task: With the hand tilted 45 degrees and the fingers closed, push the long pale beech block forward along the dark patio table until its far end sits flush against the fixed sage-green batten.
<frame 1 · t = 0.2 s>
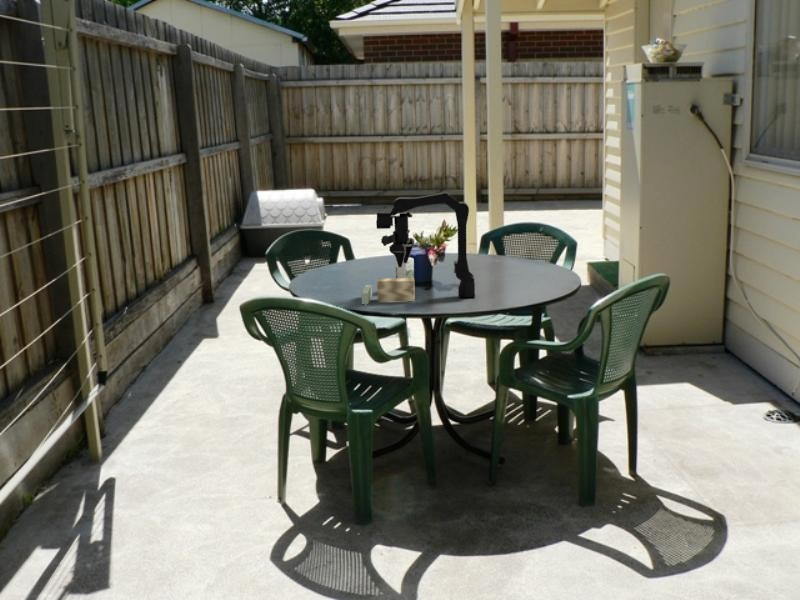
hand: (402, 265, 363), 14 cm above the table, tool pointing down, fingers open, 9 cm apart
syrup box: (405, 291, 380), on the table
beech block: (396, 300, 361), on the table
sage batten: (367, 300, 362), on the table
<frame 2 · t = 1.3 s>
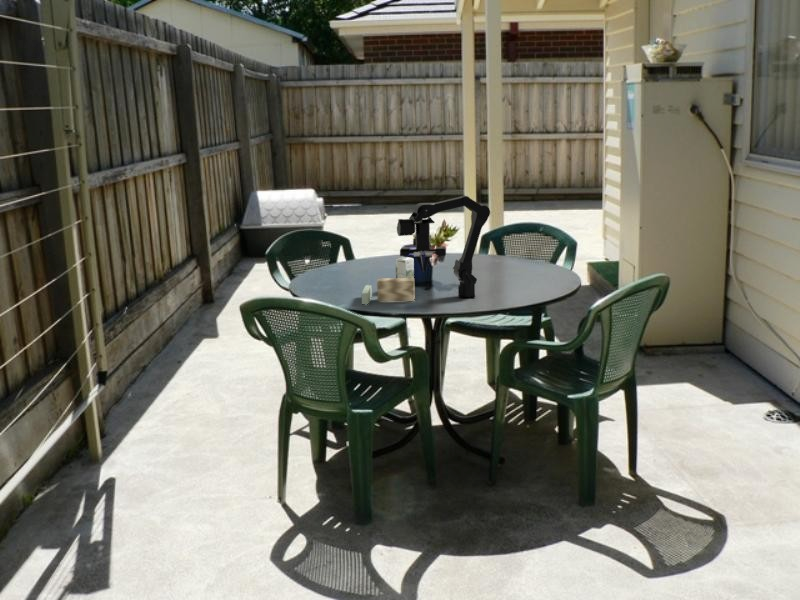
hand: (423, 271, 358), 12 cm above the table, tool pointing down, fingers closed
nothing on the table moved.
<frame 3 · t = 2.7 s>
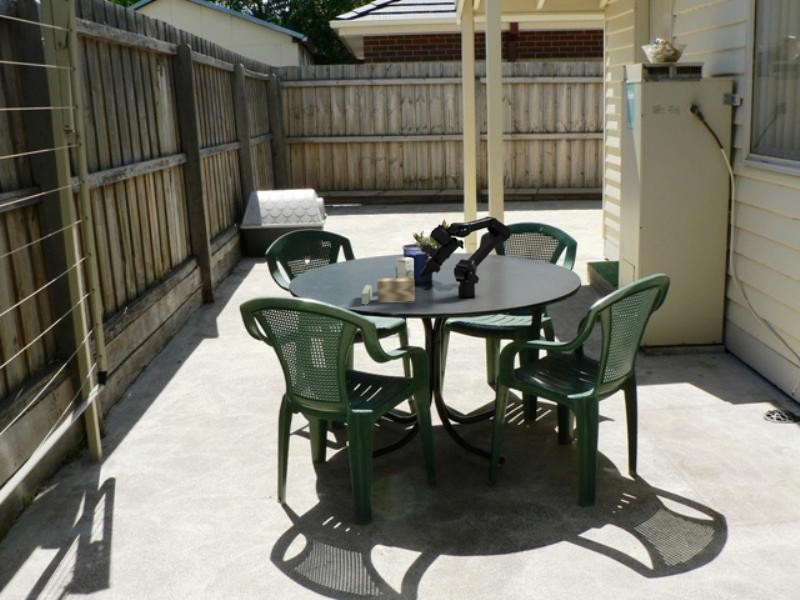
hand: (420, 276, 358), 10 cm above the table, tool tilted 45°, fingers closed
nothing on the table moved.
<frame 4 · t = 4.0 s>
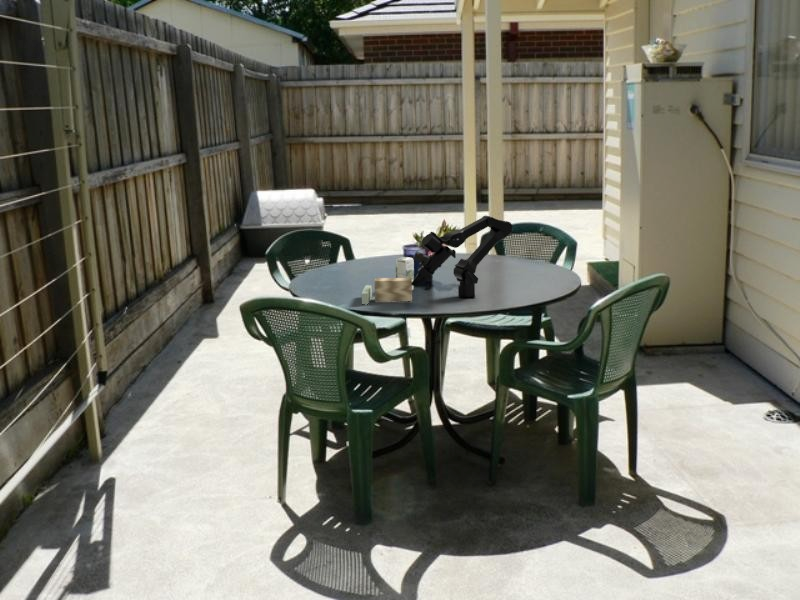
hand: (412, 284, 359), 7 cm above the table, tool tilted 45°, fingers closed, pressing on beech block
beech block: (393, 300, 361), on the table, touching gripper
everything else where it was.
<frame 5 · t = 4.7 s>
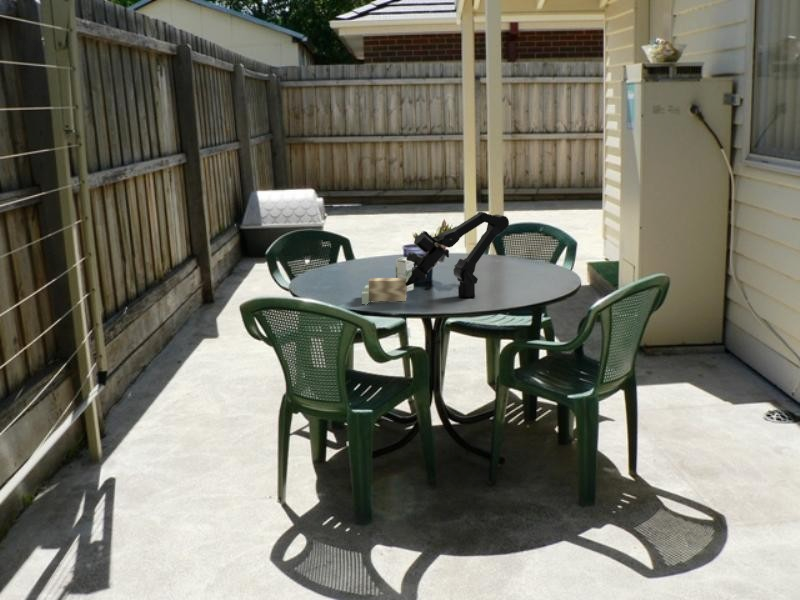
hand: (406, 285, 360), 7 cm above the table, tool tilted 45°, fingers closed, pressing on beech block
beech block: (388, 300, 362), on the table, touching gripper, sage batten
everything else where it was.
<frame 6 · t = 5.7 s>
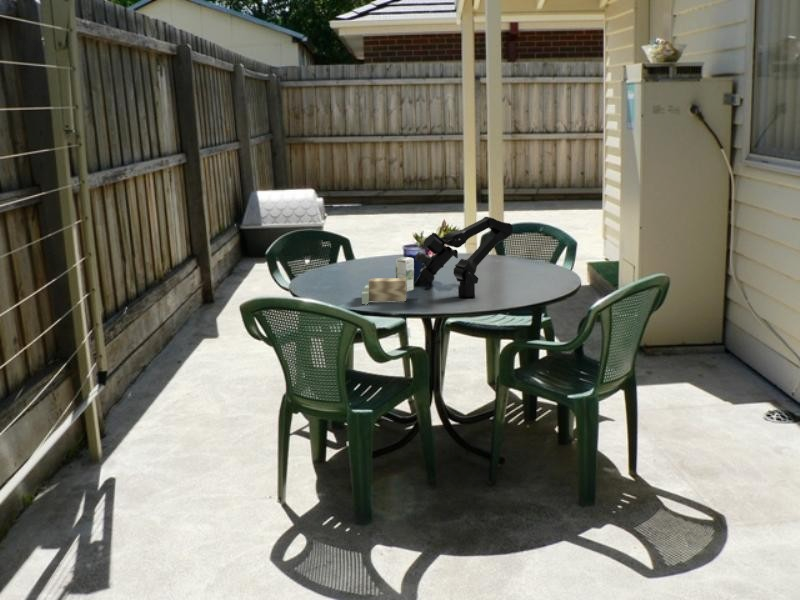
hand: (414, 285, 360), 6 cm above the table, tool tilted 45°, fingers closed
beech block: (388, 300, 362), on the table
everything else where it was.
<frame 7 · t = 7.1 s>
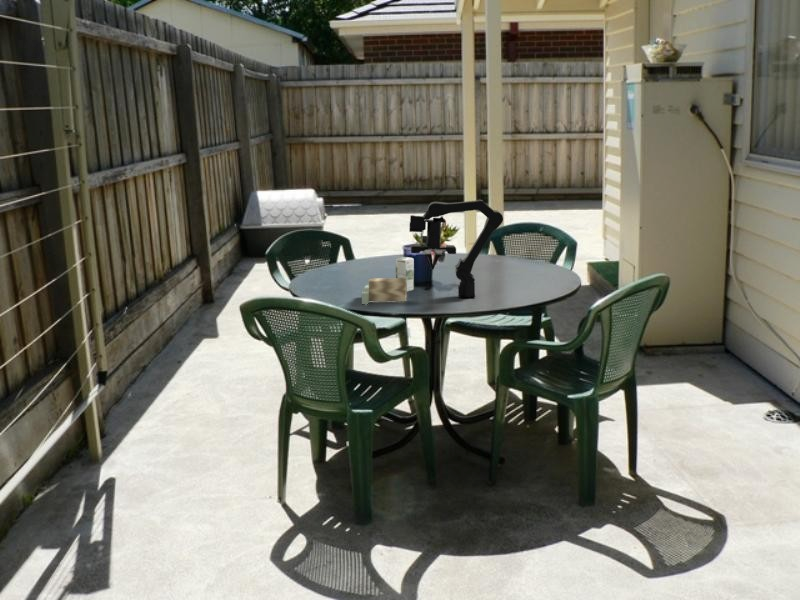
hand: (432, 269, 363), 12 cm above the table, tool pointing down, fingers closed
nothing on the table moved.
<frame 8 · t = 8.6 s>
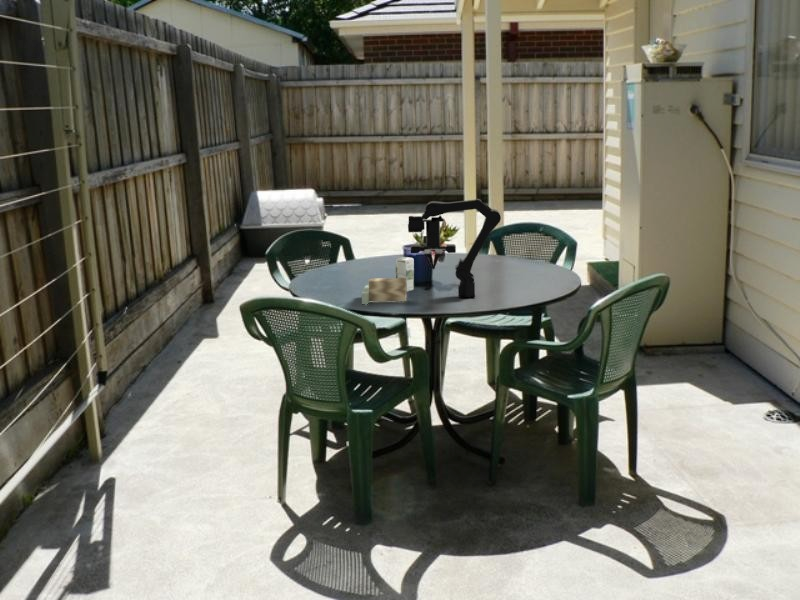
hand: (433, 269, 363), 12 cm above the table, tool pointing down, fingers closed
nothing on the table moved.
at the end: beech block 0.6 cm from the target spot on the table beside the sage batten, on the table; beech block tilted 0° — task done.
